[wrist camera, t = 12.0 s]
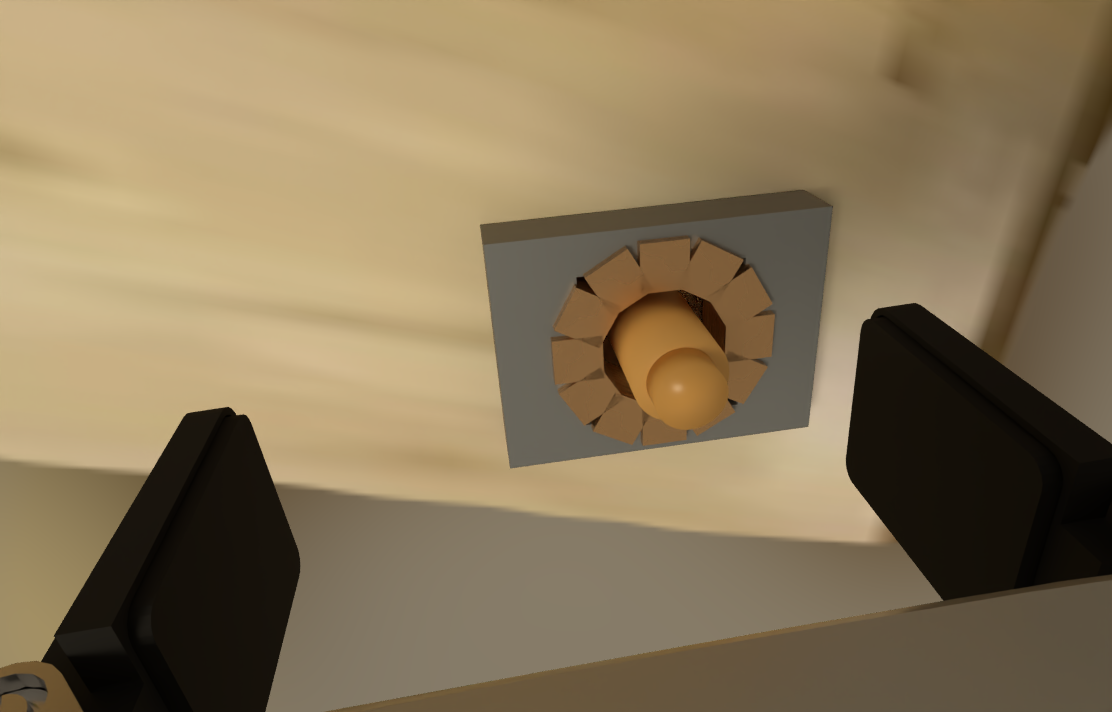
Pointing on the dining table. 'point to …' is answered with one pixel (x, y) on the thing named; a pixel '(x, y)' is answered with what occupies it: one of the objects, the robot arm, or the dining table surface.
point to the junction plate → (587, 239)
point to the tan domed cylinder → (671, 361)
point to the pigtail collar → (622, 282)
